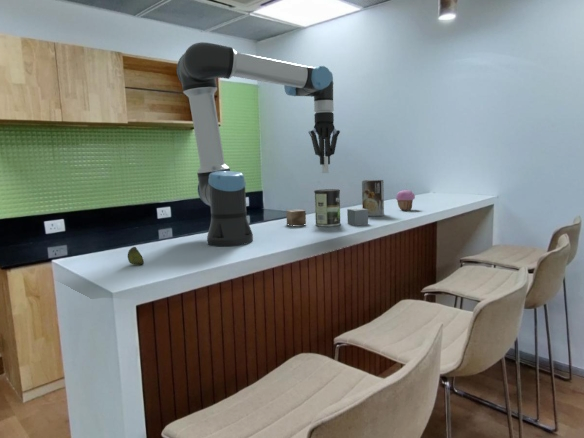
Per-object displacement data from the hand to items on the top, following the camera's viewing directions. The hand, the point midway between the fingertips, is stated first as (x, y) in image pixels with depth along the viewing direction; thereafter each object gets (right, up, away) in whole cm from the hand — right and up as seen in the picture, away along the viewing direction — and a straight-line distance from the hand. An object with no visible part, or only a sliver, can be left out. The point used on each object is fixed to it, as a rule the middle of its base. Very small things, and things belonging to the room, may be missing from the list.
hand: (325, 172), depth 167 cm
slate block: (+13, -20, +2) cm, 25 cm away
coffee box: (+24, -17, +26) cm, 39 cm away
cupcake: (+43, -14, +40) cm, 61 cm away
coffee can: (+1, -21, +3) cm, 21 cm away
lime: (-55, -31, -55) cm, 84 cm away
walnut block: (-11, -21, +5) cm, 24 cm away
